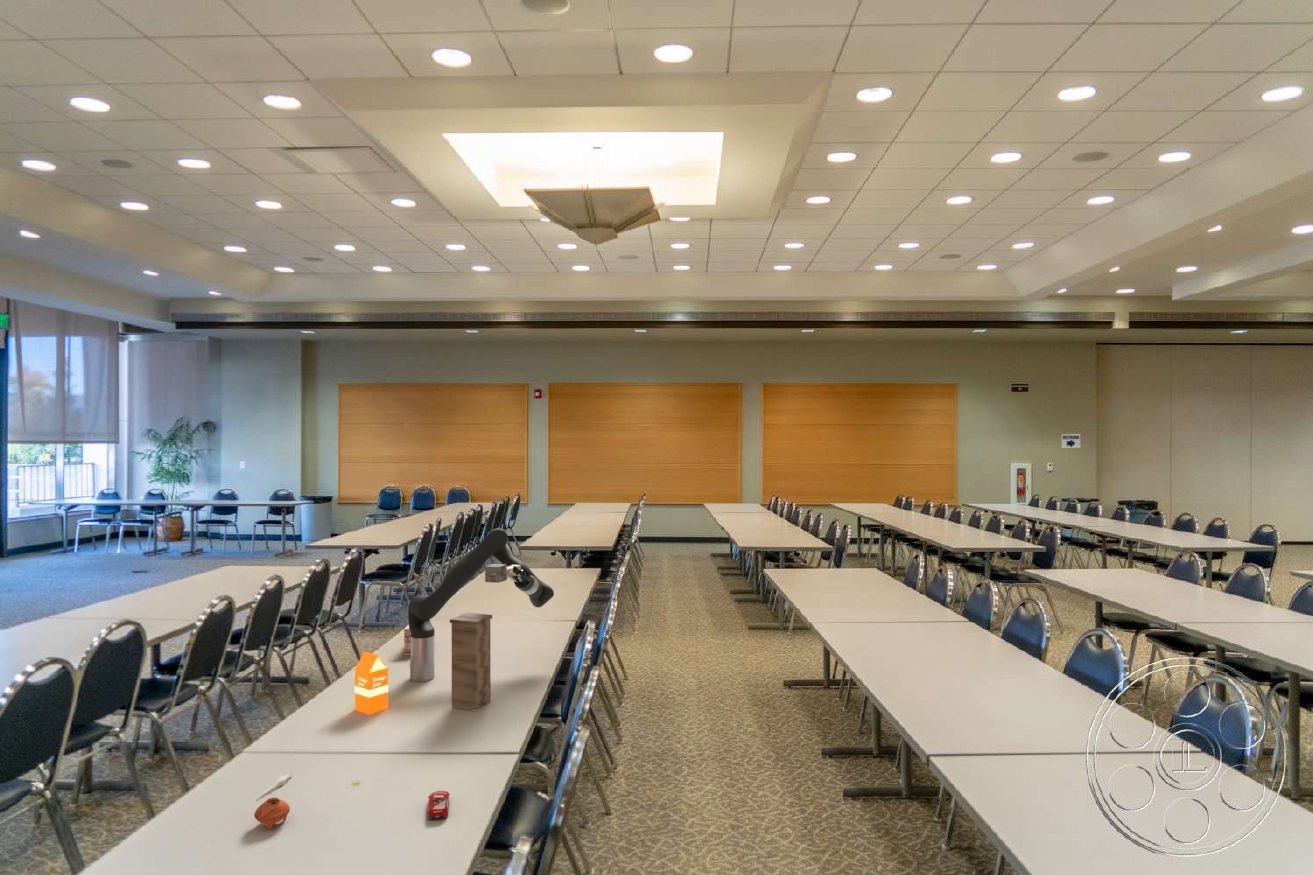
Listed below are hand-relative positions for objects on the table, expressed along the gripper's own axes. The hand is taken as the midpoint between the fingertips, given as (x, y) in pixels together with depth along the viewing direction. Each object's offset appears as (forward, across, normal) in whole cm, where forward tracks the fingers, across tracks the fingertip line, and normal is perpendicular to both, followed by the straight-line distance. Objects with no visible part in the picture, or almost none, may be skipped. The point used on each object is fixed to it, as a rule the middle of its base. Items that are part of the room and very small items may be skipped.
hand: (509, 568), depth 304 cm
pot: (+81, -2, +99) cm, 128 cm away
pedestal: (+2, 0, +54) cm, 54 cm away
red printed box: (-49, -65, +25) cm, 85 cm away
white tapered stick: (+67, -17, +91) cm, 114 cm away
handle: (+1, 0, +5) cm, 5 cm away
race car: (+64, +34, +89) cm, 115 cm away
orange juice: (+14, -32, +61) cm, 70 cm away
